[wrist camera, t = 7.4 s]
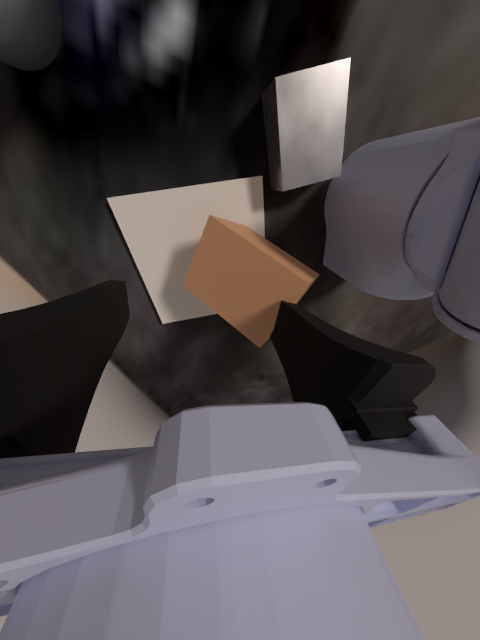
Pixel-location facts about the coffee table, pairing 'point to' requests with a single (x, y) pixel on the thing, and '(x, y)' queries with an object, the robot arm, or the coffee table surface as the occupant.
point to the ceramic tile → (182, 235)
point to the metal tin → (306, 125)
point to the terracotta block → (245, 277)
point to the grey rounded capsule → (30, 33)
